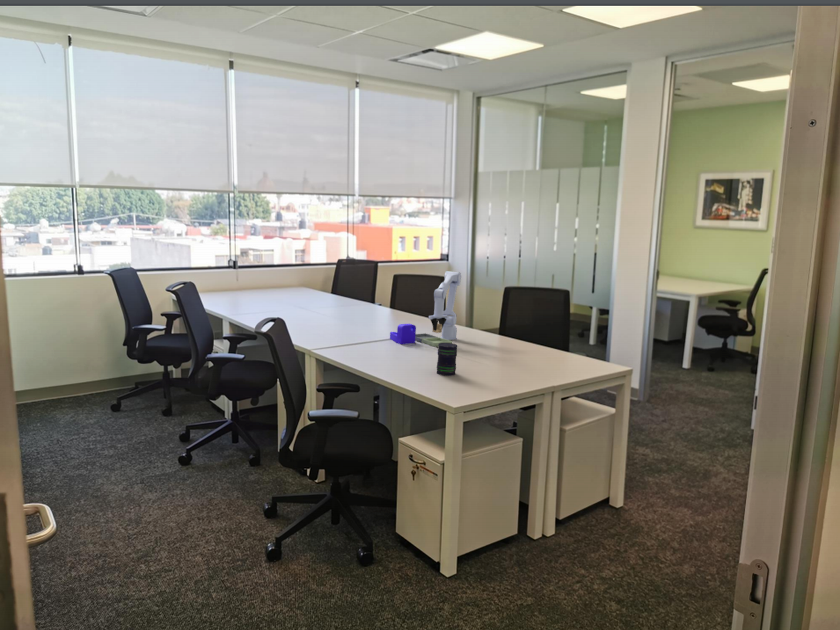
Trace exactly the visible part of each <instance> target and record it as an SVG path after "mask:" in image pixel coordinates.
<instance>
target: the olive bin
mask: <svg viewBox="0 0 840 630" xmlns="http://www.w3.org/2000/svg"><path fill="white" fill-rule="evenodd" d="M436 337H437V338H426V339H422V342H421V343H422V344H424V345H427V346H430V347H434V348H438V347H439V346H438V344H439V343H453V340H446V339H443V338H440V337H441V336H436Z"/></svg>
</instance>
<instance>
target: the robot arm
mask: <svg viewBox="0 0 840 630" xmlns="http://www.w3.org/2000/svg"><path fill="white" fill-rule="evenodd" d="M461 281H462V273H461V272H460V271H450V270H449V271H448V270H446V271H445V272H444V280H443V281H442V282H441V283H440V285H439V286H438V288H436V289H434V292H433V300H434V301H433V302H434V308H433V309H434V311H433V315H428V320H430V322H431V324H432V331H433V330H435V331H436V330H437V324H442V332H441V336H439V337H440V338H443V339H446V340H450V341H453V340H458V338H457V333H458V332H457V331H458V329H457V326H456V325H457V313H456V312H455V311H454V308H455V307H454V306H455V301H456V295H457V290H458V286H460V285H461ZM447 292H448V295H447ZM446 297H447V300H446V307H445V299H446Z"/></svg>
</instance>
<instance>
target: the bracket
mask: <svg viewBox="0 0 840 630" xmlns="http://www.w3.org/2000/svg"><path fill="white" fill-rule="evenodd" d="M396 328H397V329H396V331H390V332H389V339H390V340H391V341H393V342H394V343H396V344H398V345H408V344H416V341H415V336H416V334H417V333H416V332H417V326H416V325H415V324H412V323H399V324H398V325H397V327H396Z"/></svg>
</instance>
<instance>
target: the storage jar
mask: <svg viewBox="0 0 840 630" xmlns="http://www.w3.org/2000/svg"><path fill="white" fill-rule="evenodd" d="M438 346H439V347H437V355H438V356H437V362H436V374H437V375H438V376H439V375H440V376H443V377H445V376H447V377H451V376H455V375H456V370H457V357H458V356H457V355H458V345H457V344H456V343H453V342H452V343H439V344H438Z"/></svg>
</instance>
